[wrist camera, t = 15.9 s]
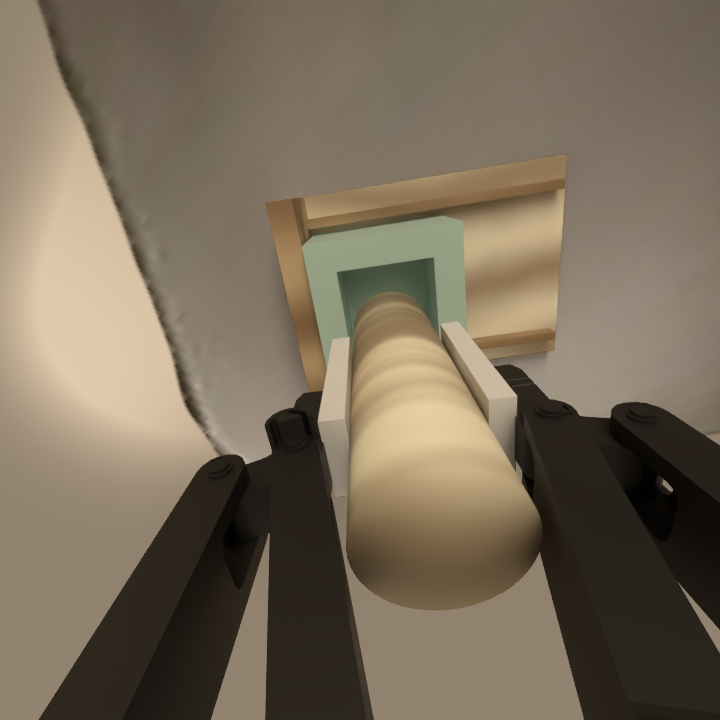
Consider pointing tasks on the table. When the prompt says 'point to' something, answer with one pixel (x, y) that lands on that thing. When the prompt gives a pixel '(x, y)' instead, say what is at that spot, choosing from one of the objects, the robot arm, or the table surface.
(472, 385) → the robot arm
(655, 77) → the table surface
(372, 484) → the dowel
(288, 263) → the rail board
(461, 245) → the pale green hollow block
